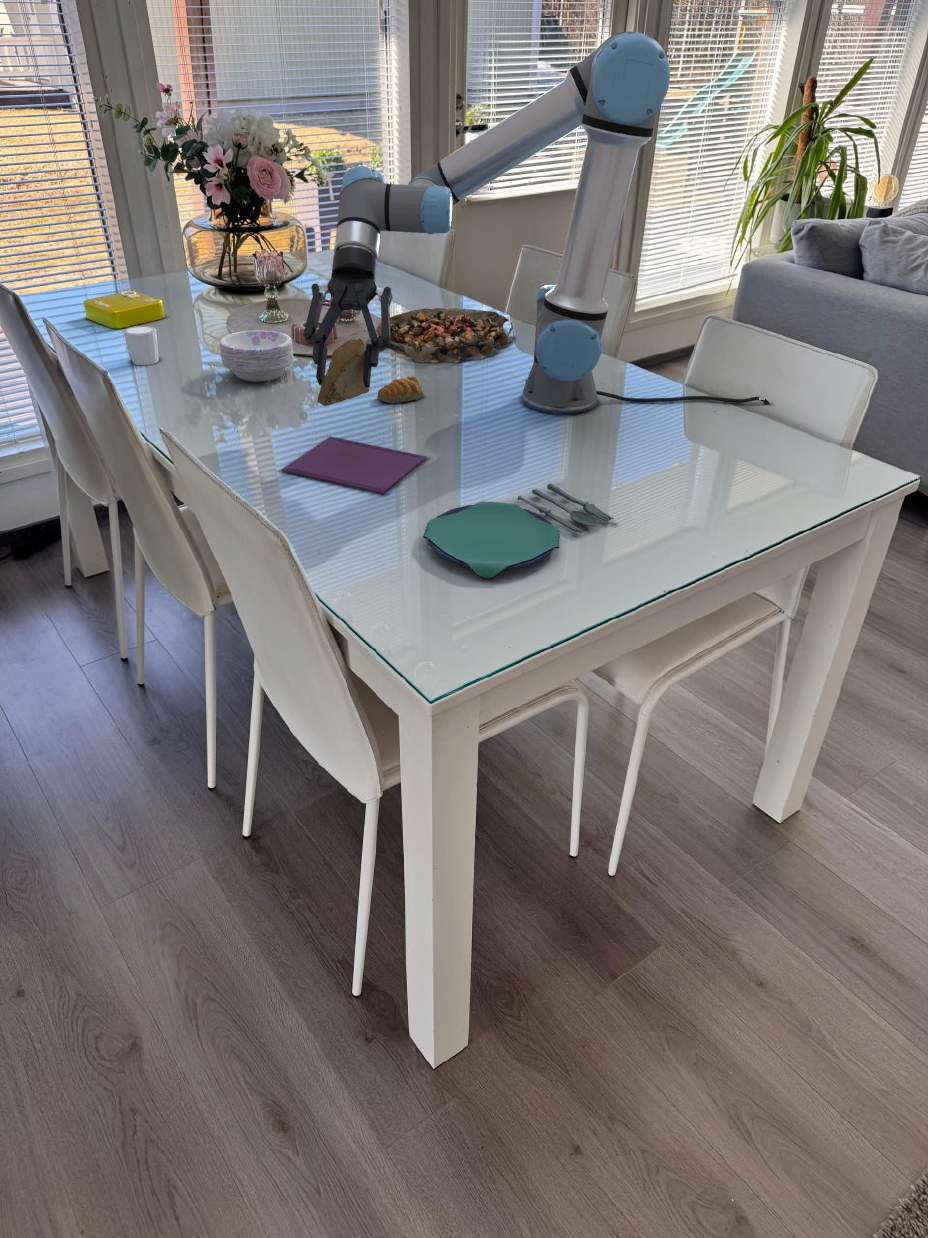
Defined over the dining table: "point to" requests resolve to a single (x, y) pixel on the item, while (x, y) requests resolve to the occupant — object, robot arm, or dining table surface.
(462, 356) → the food dish
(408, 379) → the pastry
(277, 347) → the paper bowls
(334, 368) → the rock
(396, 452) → the cloth
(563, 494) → the cutlery set
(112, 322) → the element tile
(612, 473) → the dining table surface
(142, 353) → the white cylinder
